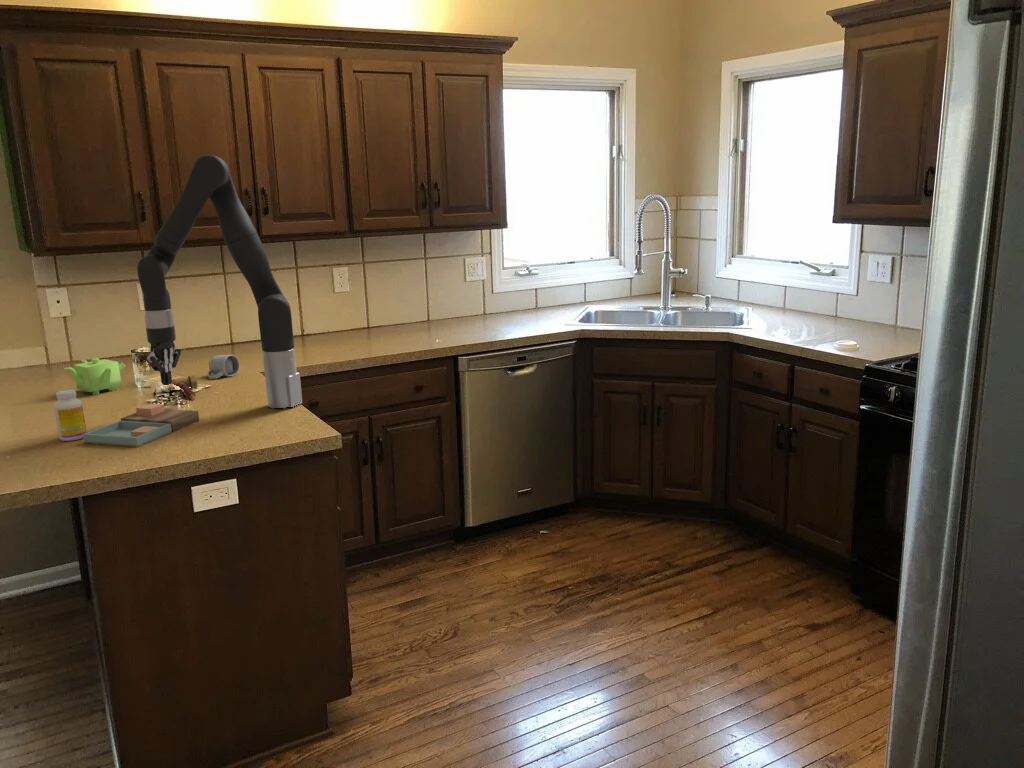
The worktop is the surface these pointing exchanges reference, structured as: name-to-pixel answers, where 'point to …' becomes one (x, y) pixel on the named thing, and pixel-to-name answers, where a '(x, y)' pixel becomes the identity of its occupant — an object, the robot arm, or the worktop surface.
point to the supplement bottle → (69, 416)
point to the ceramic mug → (223, 366)
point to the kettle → (97, 375)
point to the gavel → (187, 385)
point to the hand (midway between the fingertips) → (167, 384)
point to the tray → (126, 433)
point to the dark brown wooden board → (167, 418)
